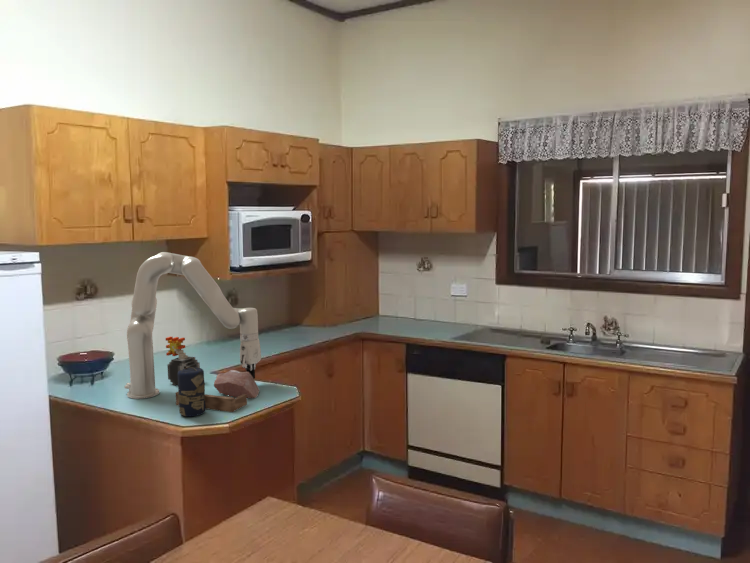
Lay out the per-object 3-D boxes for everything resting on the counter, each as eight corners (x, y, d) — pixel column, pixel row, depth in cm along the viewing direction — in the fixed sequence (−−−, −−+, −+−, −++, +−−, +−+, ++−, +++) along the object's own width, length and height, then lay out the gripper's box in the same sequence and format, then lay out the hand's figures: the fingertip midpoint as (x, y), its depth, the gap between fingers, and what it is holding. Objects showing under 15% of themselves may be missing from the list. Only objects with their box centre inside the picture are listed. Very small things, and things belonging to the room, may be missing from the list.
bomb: (189, 386, 282) (186, 341, 280) (164, 383, 288) (162, 338, 285) (200, 382, 290) (198, 337, 287) (176, 379, 295) (174, 335, 292)
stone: (226, 368, 280) (207, 378, 269) (266, 372, 271) (247, 382, 260) (229, 387, 282) (209, 397, 270) (268, 391, 272) (250, 401, 261)
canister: (188, 420, 239) (186, 371, 237) (174, 414, 246) (171, 367, 243) (211, 413, 246) (208, 366, 244) (196, 408, 253) (194, 362, 250)
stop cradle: (176, 405, 257) (175, 392, 256) (192, 397, 266) (191, 385, 266) (232, 412, 247) (231, 399, 247) (247, 404, 257) (246, 392, 256)
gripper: (247, 340, 272) (248, 384, 274) (266, 334, 286) (267, 375, 288) (231, 339, 275) (233, 382, 277) (251, 332, 289) (252, 373, 291)
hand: (250, 378), depth 283 cm, fingers closed
